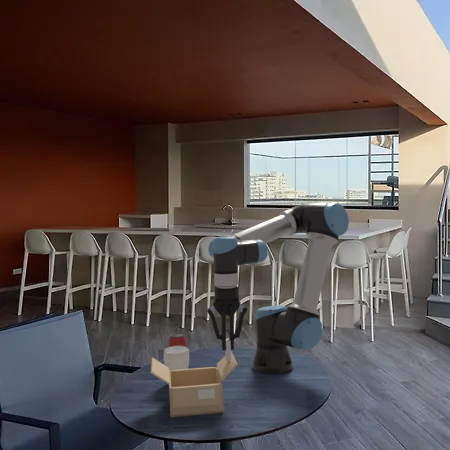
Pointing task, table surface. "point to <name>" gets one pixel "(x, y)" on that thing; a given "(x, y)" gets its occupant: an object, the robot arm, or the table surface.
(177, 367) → the cup
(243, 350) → the table surface
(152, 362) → the flap
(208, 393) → the carton
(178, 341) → the beer can
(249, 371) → the table surface
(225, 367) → the flap
